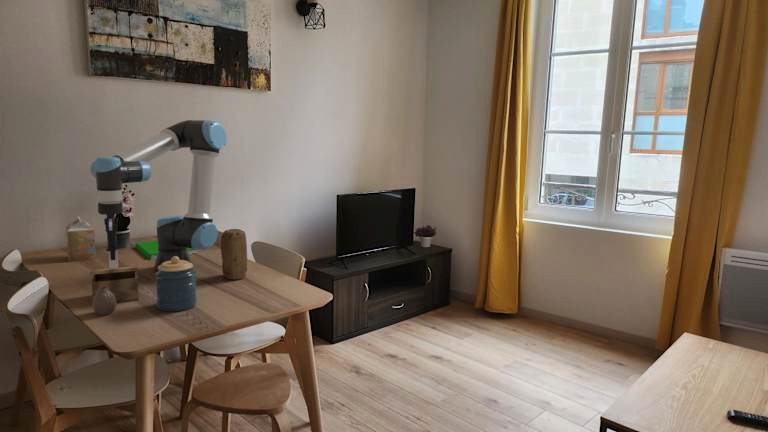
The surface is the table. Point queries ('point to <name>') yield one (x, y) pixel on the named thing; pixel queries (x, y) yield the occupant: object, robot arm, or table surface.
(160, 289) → the canister
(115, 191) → the robot arm
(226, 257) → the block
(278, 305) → the table surface
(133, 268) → the lid
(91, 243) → the tan lidded jar
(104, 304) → the vase
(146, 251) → the book
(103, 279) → the keepsake box
